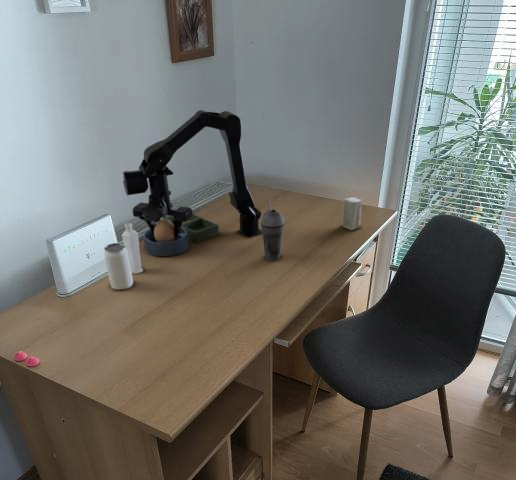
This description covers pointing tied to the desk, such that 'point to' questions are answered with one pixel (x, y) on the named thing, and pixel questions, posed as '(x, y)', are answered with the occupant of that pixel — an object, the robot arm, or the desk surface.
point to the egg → (164, 231)
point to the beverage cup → (272, 233)
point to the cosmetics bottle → (352, 213)
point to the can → (118, 266)
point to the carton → (198, 228)
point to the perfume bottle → (132, 248)
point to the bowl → (166, 244)
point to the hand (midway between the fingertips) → (165, 236)
